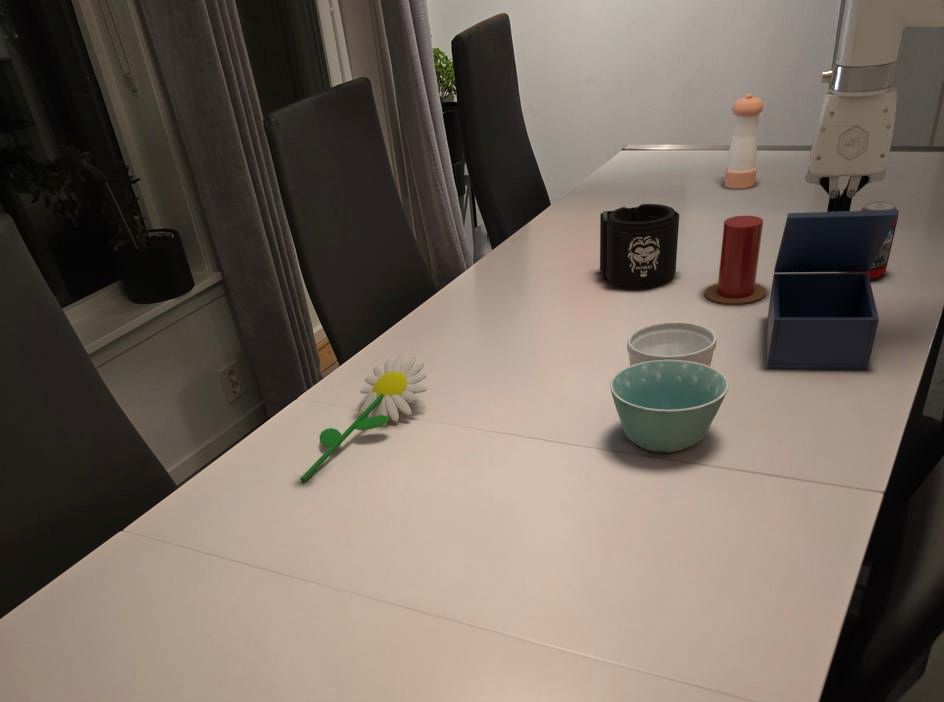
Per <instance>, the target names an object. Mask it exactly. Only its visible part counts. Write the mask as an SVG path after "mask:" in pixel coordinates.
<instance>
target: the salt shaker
mask: <svg viewBox="0 0 944 702" xmlns="http://www.w3.org/2000/svg"><path fill="white" fill-rule="evenodd" d="M764 107H765V106H764V102H763V100H762V99H761V98H759V97H757V96H753V93H746V95H745V97H741V98H739V99H737V100H736V101H735V102H734V103H733V104H732V108H731V111H732V114H733V115H734V122H733V123H734V124H733V132H732V138H731V141H730V147H729V151H728V156H727V168H726V169H725V171H724V173H725V174H724V183H723V186H724V188H728V189H733V190H734V189H748V188H751V187H753V186H755V184H756V178H757V167H756V164H757V158H758V128H759V121H760V120H759V118H760V114H761V113H762V112H763V109H764Z"/></svg>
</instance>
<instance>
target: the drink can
mask: <svg viewBox="0 0 944 702" xmlns="http://www.w3.org/2000/svg"><path fill="white" fill-rule="evenodd" d="M763 227H764V219H763V218H762V217H759V216H756V215H735V216H732V217H729V218H726V219H725V220H724V221H723V229H722V239H721V247H720V248H721V249H720V257H719V258H720V259H719V269H718V279H717V280H718V281H717V284H718V288H717V293H718V294H719V295H720V296H722V297H726V298H744V297H748V296H750V295H752V294H753V293H754V289H755V283H756V281H757V273H758V265H759V257H760V251H761V241H762V234H763Z"/></svg>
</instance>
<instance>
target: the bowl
mask: <svg viewBox="0 0 944 702" xmlns="http://www.w3.org/2000/svg"><path fill="white" fill-rule="evenodd" d="M609 386H610V387H609V389H610V393H611V395H612V399H613V403H614V406H615V409H616V412H617V415H618V417H619V421H620V423H621V426H622V429H623V432H624V434H625V436H626V437H627V438H628V440H629V441H631V442H632V443H634V444H635V445H637V446H638V447H640V448H642V449H644V450H645V451H650V452H654V453H662V454H663V453H676V452H680V451H683V450H686V449H688V448H690V447H692V446H693V445H696V444H697V443H698V442H700V441H701V440H702V439H703V438H704V437H706V434H707V432H708V431H709V429H710V427H711V425H712V423H713V421H714V419H715V418H716V415H717V413H718V411H719V409H720V407H721V405H722V404H723V401H724V399H725V398H726V395H727V393H728V390H729V386H730V385H729V381H728V378H727V377H726V376H725V374H723V373H722V372H720V371H719V370H718V369H716V368H714V367H712V366H710V367H709V366H707V365H703V364H700V363H696V362H690V361H683V360H655V361H648V362H642V363H638V364H635V365H631V366H630V365H628V366H627V367H625V368H623V369H621V370H620V371H618V372H617V373H615V375H614V376H613V377H612V378H611V380H610V383H609Z"/></svg>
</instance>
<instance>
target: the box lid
mask: <svg viewBox="0 0 944 702" xmlns="http://www.w3.org/2000/svg"><path fill="white" fill-rule="evenodd" d="M899 214H900V210H899V209H897V210H875V211H861V210H850V211H840V212H827V211H812V212H811V211H810V212H788V213H787V217H786V220H785V225H784V228H783V232H782V237H781V240H780V244H779V248H778V253H777V256H776V261H775V264H774V269H773V274H779V273H848V272H868V271H869V269H870V268H871V266H872V264H873V262H874V260H875V258H876V256H877V254H878V253H879V251H880V249H881V247H882V245H883V243H884V241H885V239H886V238H887V236H888V234H889V232H890V230H891V228H892V226H893V224H894V222H895V221H896V219H897V217H898V218H899Z"/></svg>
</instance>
